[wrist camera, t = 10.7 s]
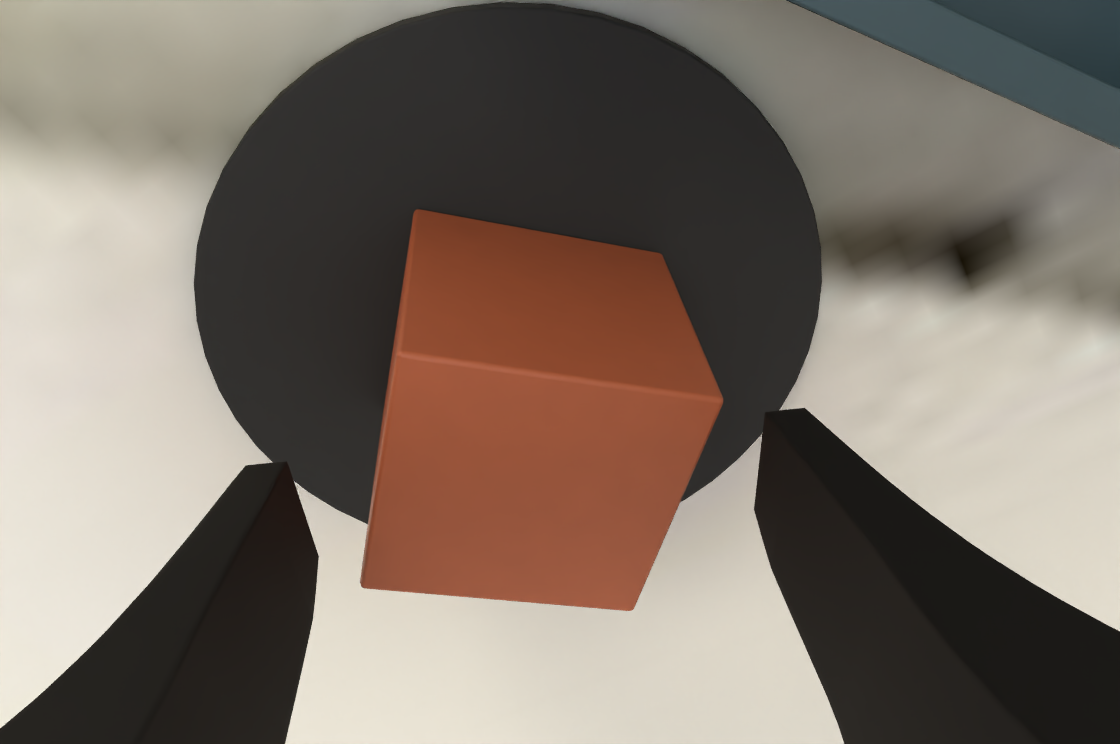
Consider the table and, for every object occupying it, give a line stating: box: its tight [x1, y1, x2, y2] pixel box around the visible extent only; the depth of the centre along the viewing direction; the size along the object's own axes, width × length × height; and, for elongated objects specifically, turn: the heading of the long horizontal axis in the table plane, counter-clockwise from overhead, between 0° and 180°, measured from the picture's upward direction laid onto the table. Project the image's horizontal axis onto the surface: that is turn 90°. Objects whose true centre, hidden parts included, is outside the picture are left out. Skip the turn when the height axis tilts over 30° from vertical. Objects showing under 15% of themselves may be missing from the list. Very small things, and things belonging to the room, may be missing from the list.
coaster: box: [194, 2, 822, 524], centre depth 16 cm, size 12×12×1 cm
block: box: [360, 209, 723, 611], centre depth 14 cm, size 5×5×5 cm
